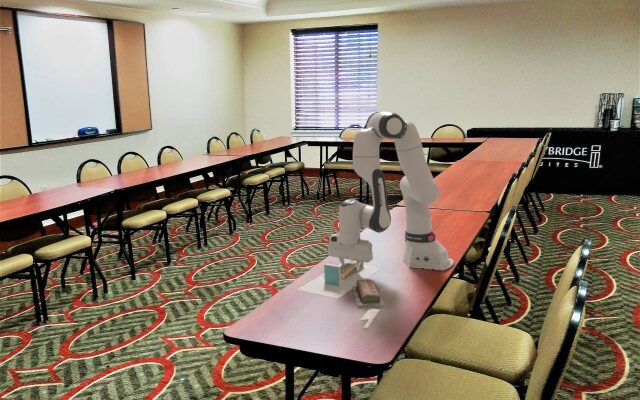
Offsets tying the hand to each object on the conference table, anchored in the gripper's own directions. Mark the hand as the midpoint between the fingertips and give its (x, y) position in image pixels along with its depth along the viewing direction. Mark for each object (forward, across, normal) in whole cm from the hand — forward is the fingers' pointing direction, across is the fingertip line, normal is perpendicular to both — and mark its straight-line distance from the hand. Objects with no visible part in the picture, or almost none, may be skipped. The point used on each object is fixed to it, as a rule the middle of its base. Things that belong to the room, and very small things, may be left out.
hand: (350, 268), depth 224 cm
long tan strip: (+2, 0, 0) cm, 2 cm away
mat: (+2, 0, +8) cm, 8 cm away
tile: (+2, 0, +15) cm, 15 cm away
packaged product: (+3, -18, +20) cm, 27 cm away
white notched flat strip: (+2, -27, +36) cm, 45 cm away
